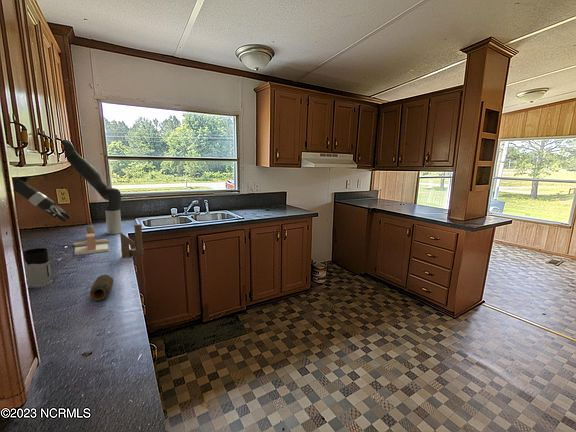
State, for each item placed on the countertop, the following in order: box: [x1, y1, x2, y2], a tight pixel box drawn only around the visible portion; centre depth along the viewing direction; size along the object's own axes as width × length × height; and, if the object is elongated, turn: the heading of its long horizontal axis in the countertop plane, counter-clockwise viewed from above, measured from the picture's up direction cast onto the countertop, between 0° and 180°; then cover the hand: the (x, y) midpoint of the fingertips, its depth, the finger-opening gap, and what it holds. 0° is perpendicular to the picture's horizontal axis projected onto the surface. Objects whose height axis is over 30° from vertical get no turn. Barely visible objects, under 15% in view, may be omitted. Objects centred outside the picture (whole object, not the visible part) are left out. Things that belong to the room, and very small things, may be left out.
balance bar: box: [73, 225, 110, 247], centre depth 176 cm, size 5×18×12 cm, turn 125°
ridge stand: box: [74, 232, 109, 256], centre depth 163 cm, size 11×16×10 cm
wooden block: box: [119, 223, 145, 259], centre depth 156 cm, size 4×11×18 cm, turn 129°
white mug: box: [22, 247, 67, 289], centre depth 118 cm, size 9×14×15 cm, turn 118°
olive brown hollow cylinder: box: [89, 274, 114, 301], centre depth 111 cm, size 15×7×7 cm, turn 29°
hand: (67, 219), depth 169 cm, fingers open, 8 cm apart
